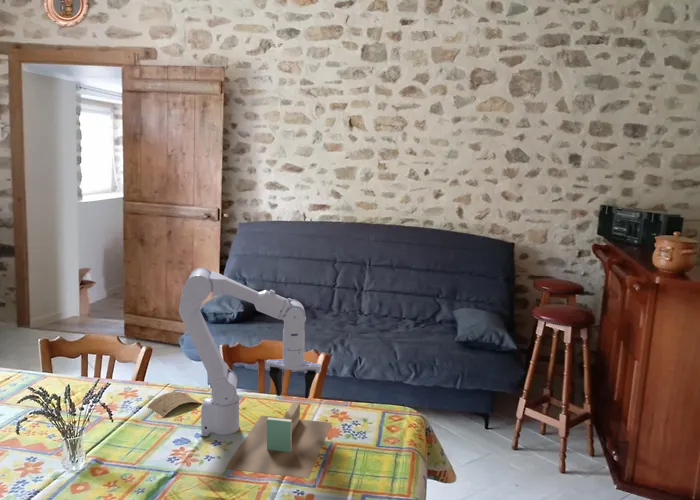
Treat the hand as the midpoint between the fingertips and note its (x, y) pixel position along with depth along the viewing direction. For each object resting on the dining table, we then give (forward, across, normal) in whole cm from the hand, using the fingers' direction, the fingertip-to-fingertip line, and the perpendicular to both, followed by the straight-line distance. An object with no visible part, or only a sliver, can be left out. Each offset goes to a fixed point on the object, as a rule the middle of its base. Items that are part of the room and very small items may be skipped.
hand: (293, 395), depth 163 cm
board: (+9, 0, +10) cm, 14 cm away
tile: (+8, 0, +14) cm, 16 cm away
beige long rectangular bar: (+8, 0, +2) cm, 9 cm away
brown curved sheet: (+10, +37, -6) cm, 39 cm away
